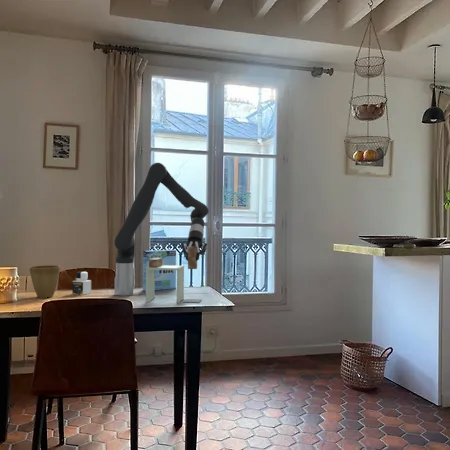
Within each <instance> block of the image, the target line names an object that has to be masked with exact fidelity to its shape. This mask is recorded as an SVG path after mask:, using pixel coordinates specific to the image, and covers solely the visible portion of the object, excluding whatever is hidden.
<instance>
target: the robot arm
mask: <svg viewBox="0 0 450 450" xmlns="http://www.w3.org/2000/svg"><path fill="white" fill-rule="evenodd" d="M160 184H162V185H163V186H164V187H165V188H166V189H167V190H168V191H169V192H170V193H171V195H173V197H175V199H176V200H177V201H178V202H179V203H180V204H181V205H183V207H184V208H186V209H189V208H191V207H192V208H193V209H192V211H191V213H190V215H189V216H190V222H191V224H190V228H189V230H188V237H187V241H186V242H185V243H183V242H181V249H182V253H183V255H185V260H186V262H188V247H189V246H197V253H196V261H197V262H198V261H199V260H200V256H202V255H204V254H205V252H206V251H207V249H208V244H207V243H208V242H207V243H205V242H204V243H203V240H204V233H205V232H204V229H205V220H204V218H205V217H206V216H208V215H209V212H210V211H209V208H208V206H207V205H206V204H205V203H203V202H202V201H200V200H198V199H196V198H195V197H194V196H192V194H190V192H189V191H188V190H186V188H184V187H183V186H182V185H181V184H180V183H178V182H177V180H176V179H174V177H173V176H172V175H171V173H170V172H169V171H168V169H167V167H166V166H165V165H164V163H161V162H154V163H153V164H151V165H150V167H149V170H148V172H147V175H146V177H145V179H144V182H143V185H142V186H141V188H140V190H139V191H138V193H137V195H136V197H135V199H134V201H133V203H132V204H131V207H130V209H129V211H128V214H127V216H126V218H125V221H124V223H123V225H122V227H121V228H120V230H119V231H118V233H117V235H116V236H115V239H114V247H115V248H116V250H117V255H116V258H115V277H114V293H113V294H114V296H120V297H121V296H123V297H124V296H125V297H126V296H132V295H134V258H135V250H136V247H135V245H136V241H135V237H134V235H135V234H136V231H137V229H138V228H139V226H140V225H141V223H143V221H144V219H145V218H146V217H147V215H148V213H149V211H150V209H151V207H152V204H153V201H154V199H155V195H156V191H157V189H158V188H159V186H160ZM186 248H187V249H186ZM200 249H201V250H200Z"/></svg>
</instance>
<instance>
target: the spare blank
mask: <svg viewBox="0 0 450 450" xmlns="http://www.w3.org/2000/svg"><path fill="white" fill-rule="evenodd" d="M160 266H162V258H152V259H149V268H157V267H160Z"/></svg>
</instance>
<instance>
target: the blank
mask: <svg viewBox="0 0 450 450" xmlns="http://www.w3.org/2000/svg"><path fill="white" fill-rule="evenodd" d="M187 249H188V261H187V270H197V269H198V261H196V253H197V246H189V247H187Z"/></svg>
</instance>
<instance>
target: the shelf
mask: <svg viewBox="0 0 450 450" xmlns="http://www.w3.org/2000/svg"><path fill="white" fill-rule="evenodd" d="M155 270H176V303H177V304H180V303H181V302H183V301H184V300H185V298H184V297H185V284H184V283H185V265H176V266H168V265H162V266H160V267H157V268H149V267H146V291H145V303H149V302H151V301H153V300H154V299H155V294H156V293H155V291H156V290H155Z"/></svg>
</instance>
